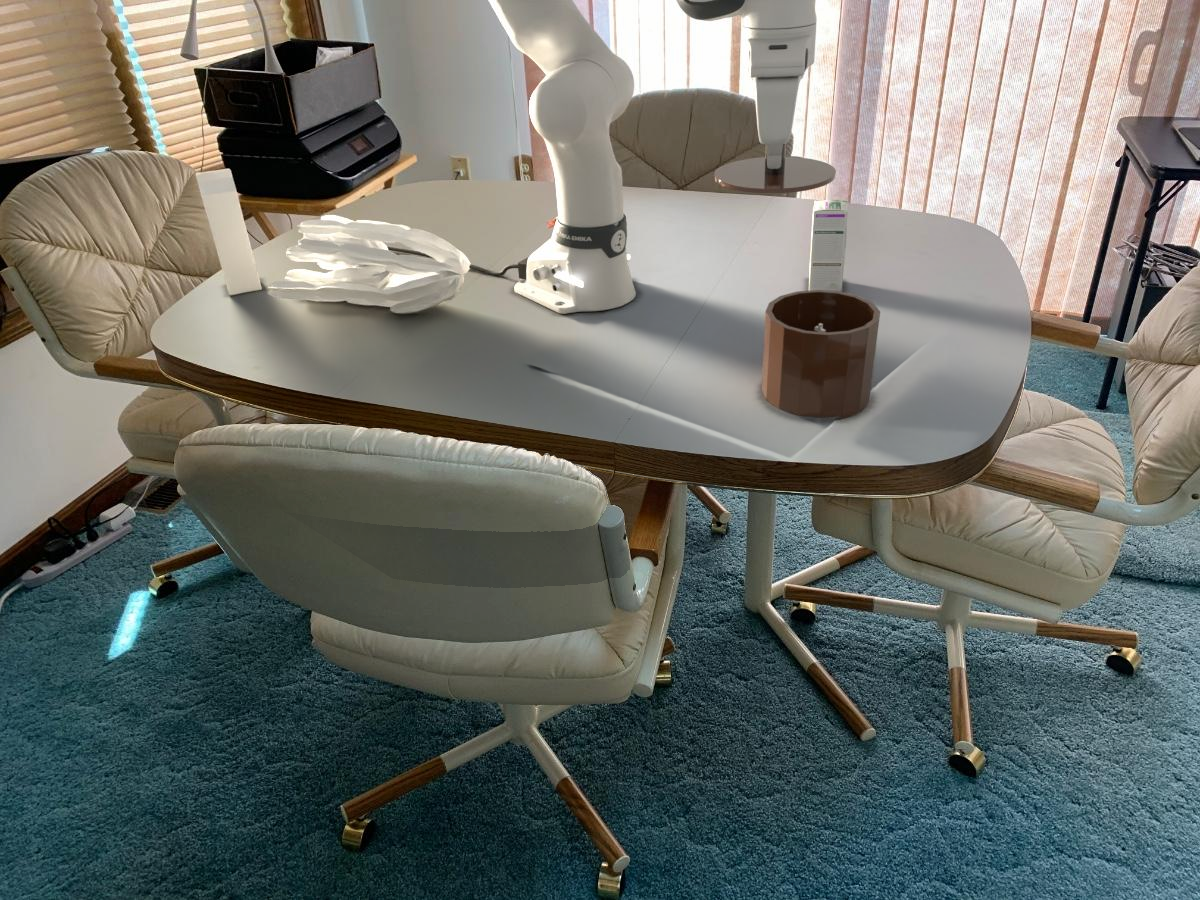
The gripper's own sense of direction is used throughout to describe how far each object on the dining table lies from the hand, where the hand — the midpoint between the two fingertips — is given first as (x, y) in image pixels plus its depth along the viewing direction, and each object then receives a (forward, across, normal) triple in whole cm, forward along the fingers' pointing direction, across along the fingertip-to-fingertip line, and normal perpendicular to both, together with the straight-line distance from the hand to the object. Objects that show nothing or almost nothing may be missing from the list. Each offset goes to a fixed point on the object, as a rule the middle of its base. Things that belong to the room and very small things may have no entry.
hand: (774, 163), depth 120 cm
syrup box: (+30, -32, +9) cm, 45 cm away
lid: (+2, 0, 0) cm, 2 cm away
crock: (+30, +8, +7) cm, 32 cm away
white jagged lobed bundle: (+29, -18, -69) cm, 77 cm away
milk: (+28, -25, -99) cm, 106 cm away
